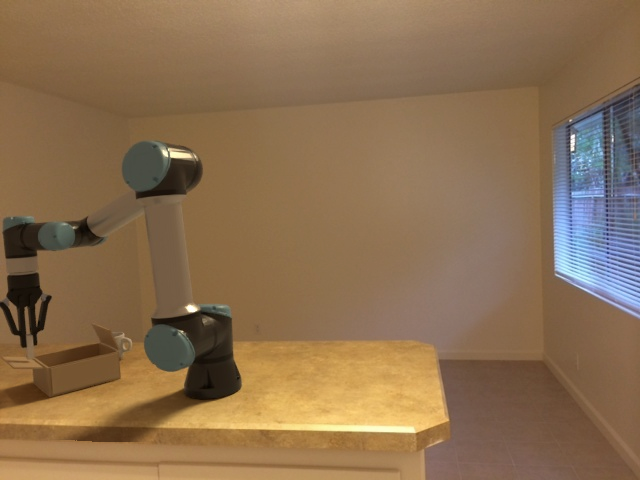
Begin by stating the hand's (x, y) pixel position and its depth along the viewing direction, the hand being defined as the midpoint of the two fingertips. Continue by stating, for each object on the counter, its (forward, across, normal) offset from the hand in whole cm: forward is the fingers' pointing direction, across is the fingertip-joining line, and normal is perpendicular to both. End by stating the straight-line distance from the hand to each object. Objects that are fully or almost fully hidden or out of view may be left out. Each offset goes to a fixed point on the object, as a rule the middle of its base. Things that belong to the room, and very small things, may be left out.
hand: (30, 358), depth 136 cm
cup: (+10, -29, -14) cm, 33 cm away
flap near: (+2, -2, 0) cm, 2 cm away
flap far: (+2, -22, 0) cm, 22 cm away
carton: (+10, -12, 0) cm, 15 cm away
